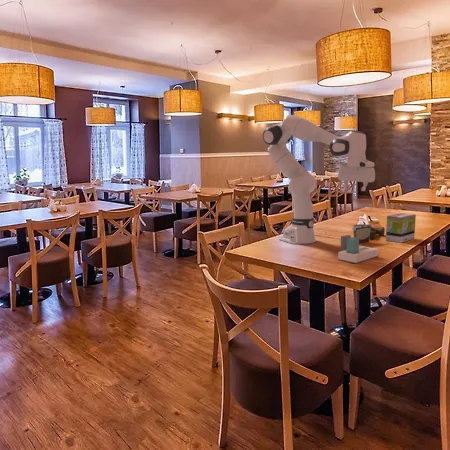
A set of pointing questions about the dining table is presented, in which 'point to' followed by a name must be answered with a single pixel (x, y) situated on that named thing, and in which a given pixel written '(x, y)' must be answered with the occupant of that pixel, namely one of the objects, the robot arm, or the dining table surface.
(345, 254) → the socket block
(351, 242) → the square peg
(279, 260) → the dining table surface
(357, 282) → the dining table surface
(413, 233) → the tea box
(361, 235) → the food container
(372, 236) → the kendama
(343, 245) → the flat tab
